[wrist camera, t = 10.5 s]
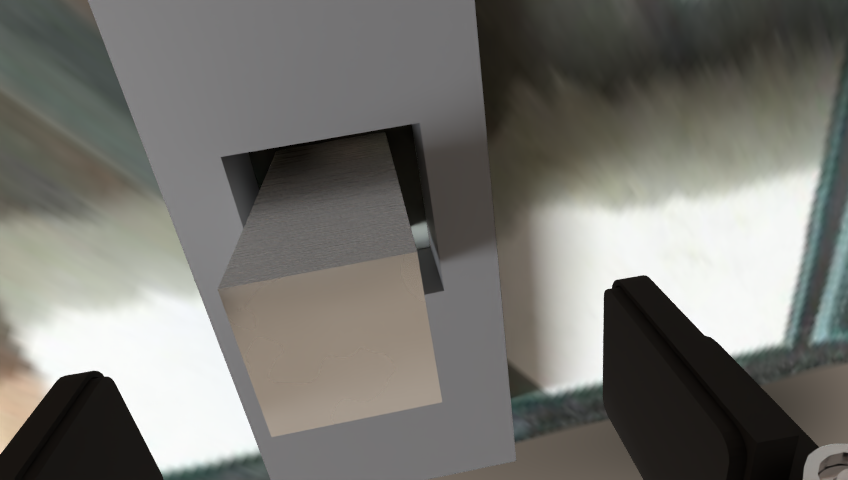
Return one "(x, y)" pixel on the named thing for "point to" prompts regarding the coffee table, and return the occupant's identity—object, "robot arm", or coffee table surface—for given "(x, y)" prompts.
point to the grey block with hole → (315, 120)
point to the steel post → (331, 290)
